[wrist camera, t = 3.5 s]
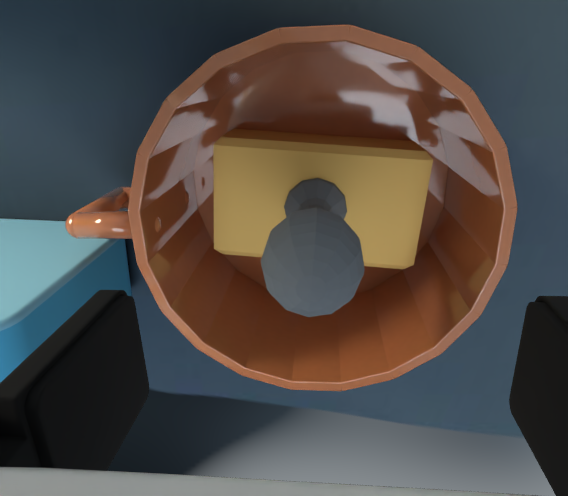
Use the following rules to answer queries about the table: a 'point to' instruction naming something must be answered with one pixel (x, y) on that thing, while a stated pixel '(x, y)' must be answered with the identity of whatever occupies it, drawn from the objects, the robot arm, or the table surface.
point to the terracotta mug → (323, 121)
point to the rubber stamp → (318, 210)
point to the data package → (49, 281)
